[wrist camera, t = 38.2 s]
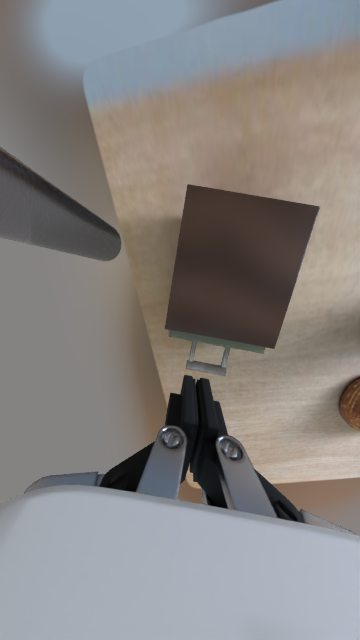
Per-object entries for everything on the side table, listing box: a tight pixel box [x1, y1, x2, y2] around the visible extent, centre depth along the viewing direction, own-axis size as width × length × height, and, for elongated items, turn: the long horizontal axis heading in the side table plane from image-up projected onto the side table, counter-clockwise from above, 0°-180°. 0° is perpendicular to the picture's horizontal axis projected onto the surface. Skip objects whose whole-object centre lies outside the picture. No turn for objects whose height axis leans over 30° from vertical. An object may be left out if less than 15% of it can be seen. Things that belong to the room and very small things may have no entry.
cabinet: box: [165, 184, 320, 349], centre depth 23 cm, size 16×14×9 cm
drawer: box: [169, 330, 265, 376], centre depth 24 cm, size 20×12×7 cm, turn 170°
